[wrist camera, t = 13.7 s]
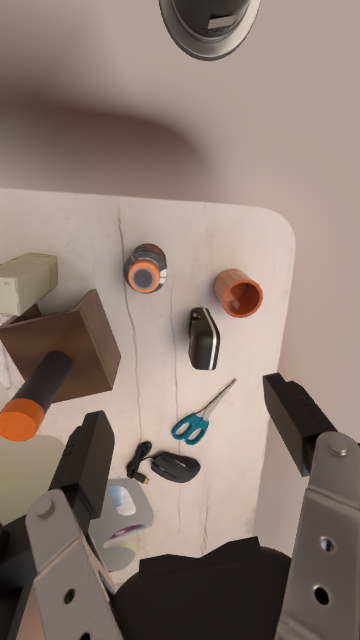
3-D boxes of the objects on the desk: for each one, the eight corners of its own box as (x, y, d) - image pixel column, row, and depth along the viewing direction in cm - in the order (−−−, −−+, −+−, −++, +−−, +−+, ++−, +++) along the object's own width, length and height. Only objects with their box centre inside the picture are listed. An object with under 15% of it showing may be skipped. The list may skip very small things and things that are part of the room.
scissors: (169, 436, 57) (224, 373, 51) (169, 432, 58) (223, 370, 52) (193, 446, 59) (248, 387, 53) (193, 443, 60) (247, 384, 54)
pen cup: (211, 273, 44) (219, 284, 37) (246, 265, 43) (260, 275, 37) (216, 306, 46) (225, 321, 40) (249, 298, 46) (264, 312, 40)
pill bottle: (172, 253, 42) (176, 268, 31) (156, 284, 44) (155, 308, 33) (139, 236, 40) (131, 246, 30) (124, 269, 42) (113, 288, 32)
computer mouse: (178, 490, 67) (179, 506, 63) (119, 470, 62) (116, 486, 58) (204, 462, 63) (207, 477, 59) (143, 438, 58) (142, 453, 55)
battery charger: (187, 305, 46) (195, 333, 35) (208, 306, 46) (222, 335, 36) (184, 339, 48) (190, 375, 38) (203, 339, 49) (215, 375, 38)
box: (29, 251, 40) (-26, 270, 28) (58, 256, 41) (16, 275, 29) (31, 283, 42) (-19, 313, 30) (58, 287, 43) (20, 317, 31)
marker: (38, 354, 36) (-15, 416, 25) (66, 347, 36) (25, 407, 25) (50, 377, 38) (6, 445, 27) (77, 371, 38) (43, 436, 27)
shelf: (29, 304, 44) (-6, 330, 34) (96, 289, 43) (79, 310, 34) (62, 369, 49) (39, 406, 40) (121, 356, 49) (112, 390, 40)
